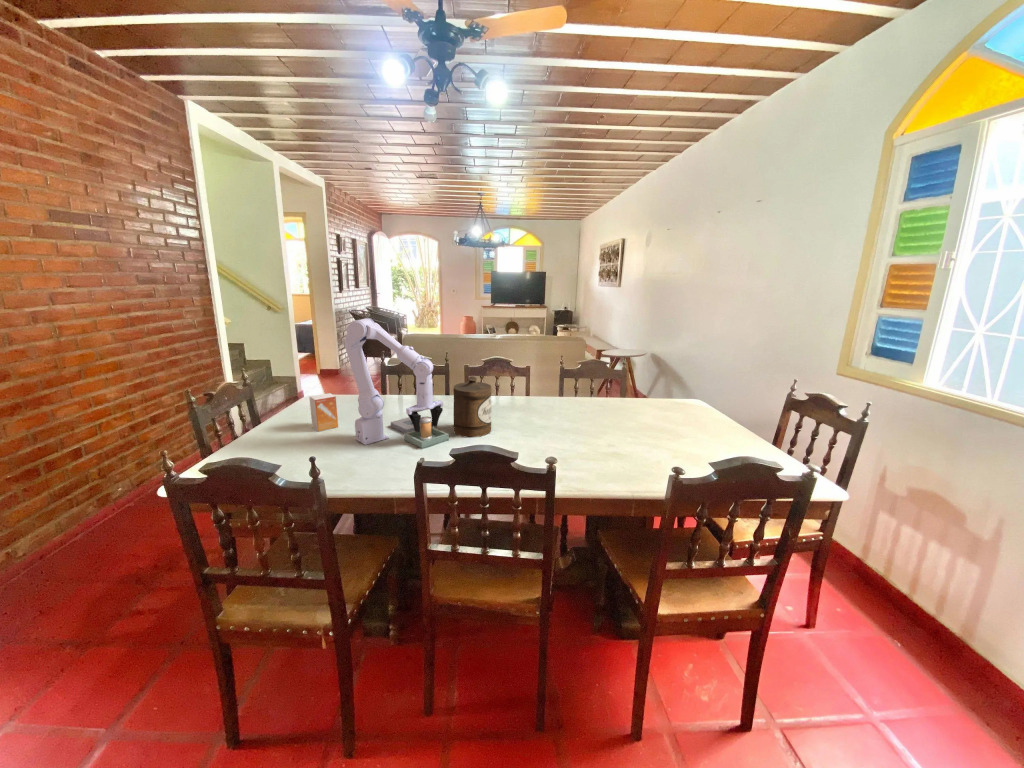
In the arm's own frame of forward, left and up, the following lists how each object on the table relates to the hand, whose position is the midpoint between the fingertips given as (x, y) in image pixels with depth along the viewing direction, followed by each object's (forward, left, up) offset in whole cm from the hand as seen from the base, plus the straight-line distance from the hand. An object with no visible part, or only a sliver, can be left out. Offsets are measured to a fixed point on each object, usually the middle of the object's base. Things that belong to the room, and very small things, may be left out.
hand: (426, 428), depth 151 cm
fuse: (0, 0, -4) cm, 4 cm away
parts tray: (0, 0, -4) cm, 4 cm away
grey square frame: (+4, +16, -4) cm, 17 cm away
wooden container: (+19, -4, -5) cm, 20 cm away
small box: (-21, +39, -5) cm, 45 cm away
